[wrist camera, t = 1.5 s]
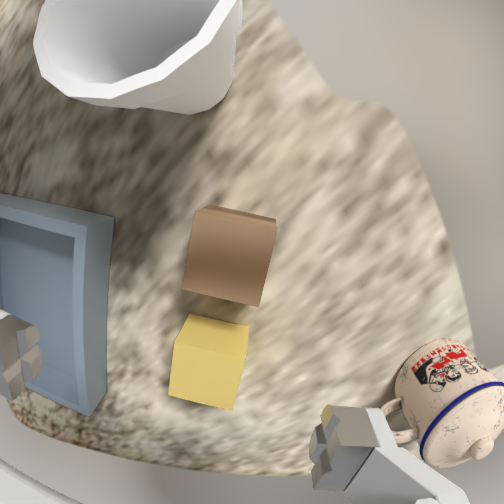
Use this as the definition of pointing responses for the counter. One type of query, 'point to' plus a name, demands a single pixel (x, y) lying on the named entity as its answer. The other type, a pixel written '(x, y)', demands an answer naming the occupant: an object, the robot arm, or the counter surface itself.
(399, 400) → the teacup with lid
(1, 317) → the robot arm
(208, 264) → the walnut block
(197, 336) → the mustard block
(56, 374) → the tray
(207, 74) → the foam cup
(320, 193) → the counter surface
